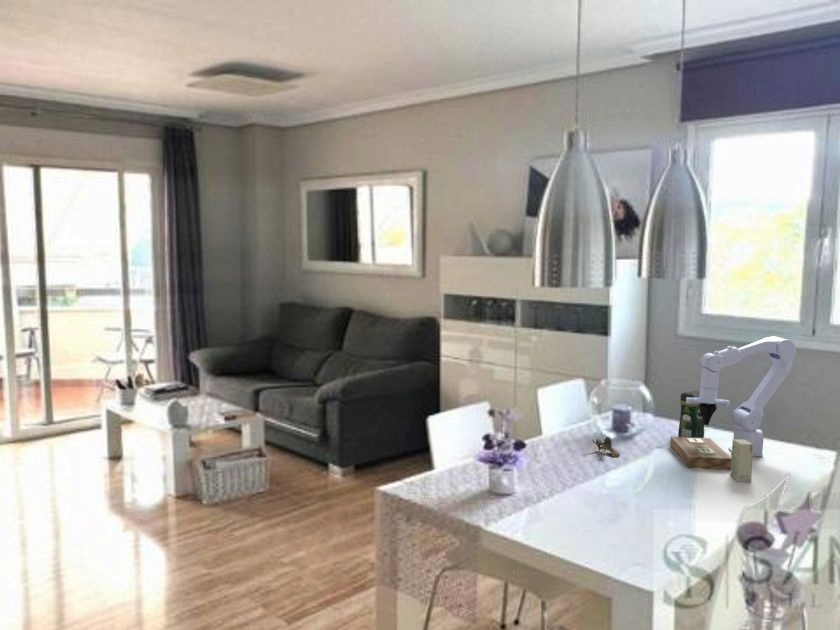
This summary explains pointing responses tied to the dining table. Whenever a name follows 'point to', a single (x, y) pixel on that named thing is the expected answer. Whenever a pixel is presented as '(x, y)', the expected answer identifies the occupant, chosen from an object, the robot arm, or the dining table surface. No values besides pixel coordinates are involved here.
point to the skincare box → (742, 460)
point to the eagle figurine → (607, 447)
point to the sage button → (705, 451)
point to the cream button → (694, 441)
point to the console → (700, 460)
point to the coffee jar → (690, 417)
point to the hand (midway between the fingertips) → (705, 424)
